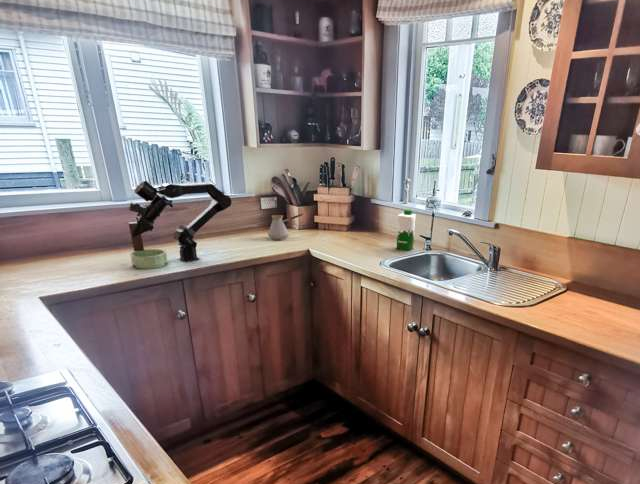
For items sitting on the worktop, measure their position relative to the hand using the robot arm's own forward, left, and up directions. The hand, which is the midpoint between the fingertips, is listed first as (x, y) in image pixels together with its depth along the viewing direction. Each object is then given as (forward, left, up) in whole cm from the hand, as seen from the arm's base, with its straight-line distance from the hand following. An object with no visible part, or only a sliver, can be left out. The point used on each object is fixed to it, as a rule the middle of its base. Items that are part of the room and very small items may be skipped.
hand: (132, 235), depth 203 cm
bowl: (-4, +3, -13) cm, 14 cm away
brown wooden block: (-1, +1, -7) cm, 7 cm away
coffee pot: (-82, +7, -14) cm, 83 cm away
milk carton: (-113, +67, -14) cm, 132 cm away
